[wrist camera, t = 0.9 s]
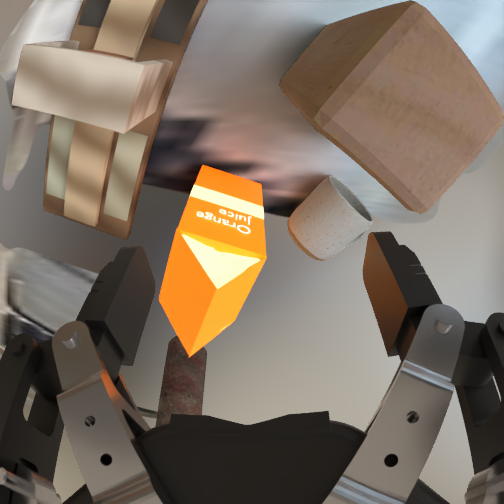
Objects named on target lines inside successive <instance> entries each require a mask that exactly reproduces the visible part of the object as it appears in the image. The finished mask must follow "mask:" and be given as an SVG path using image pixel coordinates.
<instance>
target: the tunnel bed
mask: <svg viewBox="0 0 504 504" xmlns="http://www.w3.org/2000/svg"><path fill="white" fill-rule="evenodd" d="M207 1H208V0H159V2H158V4H157V6H156V9H155V11H154V13H153V16H152V18H151V21H150V23H149V25H148V28H147V30H146V33H145V36H144V38H143V41H142V44H141V46H140V49H139V52H138V55H137V57H136V60H135V61H131V60H127V59H122V58H118V57H113V56H108V55H103V54H98V53H93V52H87V51H81V50H92V49H94V46H95V43H96V40H97V37H98V34H99V31H100V28H101V26H102V23H103V20H104V17H105V15H106V12H107V10H108V7H109V4H110V2H111V0H83V3H82V5H81V8H80V11H79V14H78V16H77V19H76V22H75V25H74V28H73V31H72V34H71V38H70V41H55V42H43V43H33V44H25V45H23V47H22V51H21V55H20V60H19V65H18V69H17V75H16V80H15V86H14V92H13V99H12V105H15V106H19V107H24V108H28V109H33V110H37V111H41V112H45V113H49V114H52V120H51V126H50V134H49V140H48V149H47V158H46V170H45V184H44V204H43V210H45V211H48V212H50V213H53V214H56V215H58V216H61V217H64V218H67V219H69V220H72V221H75V222H78V223H81V224H83V225H86V226H89V227H92V228H94V229H97V230H100V231H103V232H106V233H108V234H111V235H114V236H117V237H120V238H123V239H125V240H127V239H128V237H129V235H130V232H131V228H132V223H133V218H134V214H135V209H136V205H137V201H138V197H139V193H140V188H141V185H142V181H143V177H144V173H145V169H146V166H147V162H148V159H149V155H150V152H151V148H152V145H153V141H154V138H155V135H156V132H157V128H158V125H159V122H160V119H161V116H162V113H163V110H164V107H165V104H166V101H167V98H168V95H169V92H170V90H171V87H172V84H173V81H174V79H175V76H176V73H177V71H178V68H179V66H180V63H181V60H182V58H183V55H184V53H185V50H186V48H187V46H188V43H189V41H190V39H191V36H192V34H193V32H194V29H195V27H196V25H197V22H198V20H199V18H200V16H201V14H202V12H203V9H204V7H205V5H206V3H207ZM76 120H77V121H81V122H84V123H88V124H91V125H95V126H99V127H102V128H106V129H109V130H113V131H115V132H114V137H113V141H112V145H111V150H110V154H109V159H108V164H107V169H106V174H105V179H104V185H103V191H102V197H101V203H100V210H99V217H98V223H97V224H96V226H95V227H94V226H91V225H88V224H85V223H83V222H80V221H77V220H74V219H71V218H69V217H66V216H64V204H65V192H66V182H67V173H68V165H69V157H70V150H71V144H72V138H73V132H74V127H75V121H76Z"/></svg>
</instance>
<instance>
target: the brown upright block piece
mask: <svg viewBox="0 0 504 504" xmlns="http://www.w3.org/2000/svg"><path fill="white" fill-rule="evenodd" d="M206 359H207V351H206V349H205V348H204V347H202V348H200V349H199V350H198V351H197V352H195V353H194V354H193V355H192V356H190V357H189V355H188V353H187V351H186V350H185V348H184V346H183V344H182V342H181V341H180V339H179V337H178V336H176V337H174V338H173V339H172V340H171V341H170V342H169V345H168V351H167V356H166V363H165V368H164V375H163V381H162V387H161V394H160V401H159V406H158V414H157V421H156V427H157V426H160V425H163V424H167V423H170V417H171V414H186V415H202V404H203V392H204V381H205V371H206Z"/></svg>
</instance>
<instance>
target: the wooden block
mask: <svg viewBox="0 0 504 504" xmlns="http://www.w3.org/2000/svg"><path fill="white" fill-rule="evenodd" d="M279 86H280V87H281V89H282V90H283V92H284V93H285V94H286V95H287V96H288V97H289V99H290V100H291V101H292V102H293V103H294V104H295V105H296V107H297V108H298V109H299V110H300V111H301V112H302V114H303V115H304V116H305V117H306V118H307V120H308V121H309V122H310V123H311V124H312V126H313V127H314V128H315V129H316V130H317V131H319V132H320V133H321V134H322V135H324V136H325V137H326V138H327V139H329V140H330V141H331V142H332V143H334V144H335V145H336V146H337V147H339V148H340V149H341V150H342V151H343V152H345V153H346V154H347V155H348V156H349V157H351V158H352V159H353V160H354V161H355V162H356V163H358V164H359V165H360V166H361V167H362V168H363V169H365V170H366V171H367V172H368V173H369V174H370V175H371V176H372V177H374V178H375V179H376V180H377V181H378V182H379V183H380V184H381V185H382V186H383V187H385V188H386V189H387V190H388V191H389V192H390V193H391V194H392V195H393V196H394V197H395V198H396V199H397V200H398V201H399V202H400V203H401V204H402V205H403V206H404V207H405V208H407V209H408V210H411V211H414V212H417V213H419V214H422V213H424V212H426V211H428V210H429V209H430V208H431V207H432V206H433V205H434V204H435V203H436V202H437V200H438V199H439V198H440V197H441V196H442V195H443V194H444V193H445V192H446V191H447V190H448V189H449V187H450V186H451V185H452V184H453V183H454V182H455V181H456V180H457V178H458V177H459V176H460V175H461V174H462V173H463V172H464V171H465V169H466V168H467V167H468V166H469V165H470V164H471V162H472V161H473V160H474V159H475V158H476V157H477V155H478V154H479V153H480V152H481V151H482V149H483V148H484V147H485V146H486V144H487V143H488V142H489V141H490V140H491V138H492V137H493V136H494V135H495V133H496V132H497V131H498V129H499V128H500V127H501V126H502V123H503V119H504V116H503V111H502V109H501V107H500V106H499V104H498V102H497V101H496V99H495V97H494V96H493V94H492V92H491V91H490V89H489V88H488V86H487V85H486V83H485V82H484V80H483V79H482V77H481V76H480V74H479V73H478V71H477V70H476V68H475V67H474V66H473V64H472V63H471V61H470V60H469V59H468V57H467V56H466V55H465V53H464V52H463V51H462V49H461V48H460V47H459V46H458V44H457V43H456V42H455V41H454V39H453V38H452V37H451V36H450V35H449V33H448V32H447V31H446V30H445V29H444V27H443V26H442V25H441V24H440V23H439V22H438V21H437V20H436V18H435V17H434V16H433V15H432V14H431V13H430V12H429V11H428V10H427V9H426V8H425V7H423V6H422V5H420V4H418V3H417V2H414V1H412V0H410V1H406V2H401V3H397V4H393V5H389V6H386V7H382V8H378V9H375V10H371V11H368V12H365V13H361V14H358V15H355V16H352V17H349V18H346V19H343V20H340V21H337V22H334V23H332V24H329V25H327V26H325V28H324V29H323V30H322V31H321V32H320V33H319V34H318V36H317V37H316V38H315V39H314V40H313V41H312V42H311V44H310V45H309V46H308V47H307V48H306V50H305V51H304V52H303V53H302V54H301V55H300V57H299V58H298V59H297V60H296V61H295V63H294V64H293V65H292V66H291V68H290V69H289V70H288V71H287V72H286V74H285V75H284V76H283V77H282V79H281V81H280V85H279Z"/></svg>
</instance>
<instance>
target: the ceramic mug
mask: <svg viewBox="0 0 504 504" xmlns="http://www.w3.org/2000/svg"><path fill="white" fill-rule="evenodd" d="M372 224H373V219H372V216H371V215H370V213H369V211H368V210H367V209H366V207H365V206H364V205H363V203H362V202H361V201H360V200H359V198H358V197H357V196H356V195H355V194H354V193H353V192H352V191H351V190H350V189H349V188H348V187H347V186H346V185H345V184H344V183H343V182H342V181H341V180H339V179H338V178H336V177H335V176H333V175H328V176H327V177H326V178H325V179H324V180H323V181H322V182H321V183H320V184H319V185H318V186H317V187H316V188H315V189H314V190H313V191H312V193H311V194H310V195H309V196H308V197H307V198H306V199H305V200H304V201H303V202H302V203H301V204H300V205H299V206H298V207H297V208H296V209H295V211H294V212H293V213H292V215H291V216H290V218H289V220H288V230H289V233H290V235H291V237H292V239H293V240H294V241H295V243H296V244H297V245H298V247H299V248H300V249H301V250H302V251H304V252H305V253H306V254H307V255H308V256H310V257H312V258H314V259H316V260H320V261H321V260H322V261H323V260H326V259H329V258H331V257H332V256H334V255H335V254H337V253H338V252H339V251H340V250H342V249H343V248H344V247H347V246H349V245H351V244H353V243H355V242H356V241H358V240H359V239H360V238H361V237H362V236H363V235H364V234H365V232H366V231H367V229H368V228H369V227H370V226H371V225H372Z"/></svg>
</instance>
